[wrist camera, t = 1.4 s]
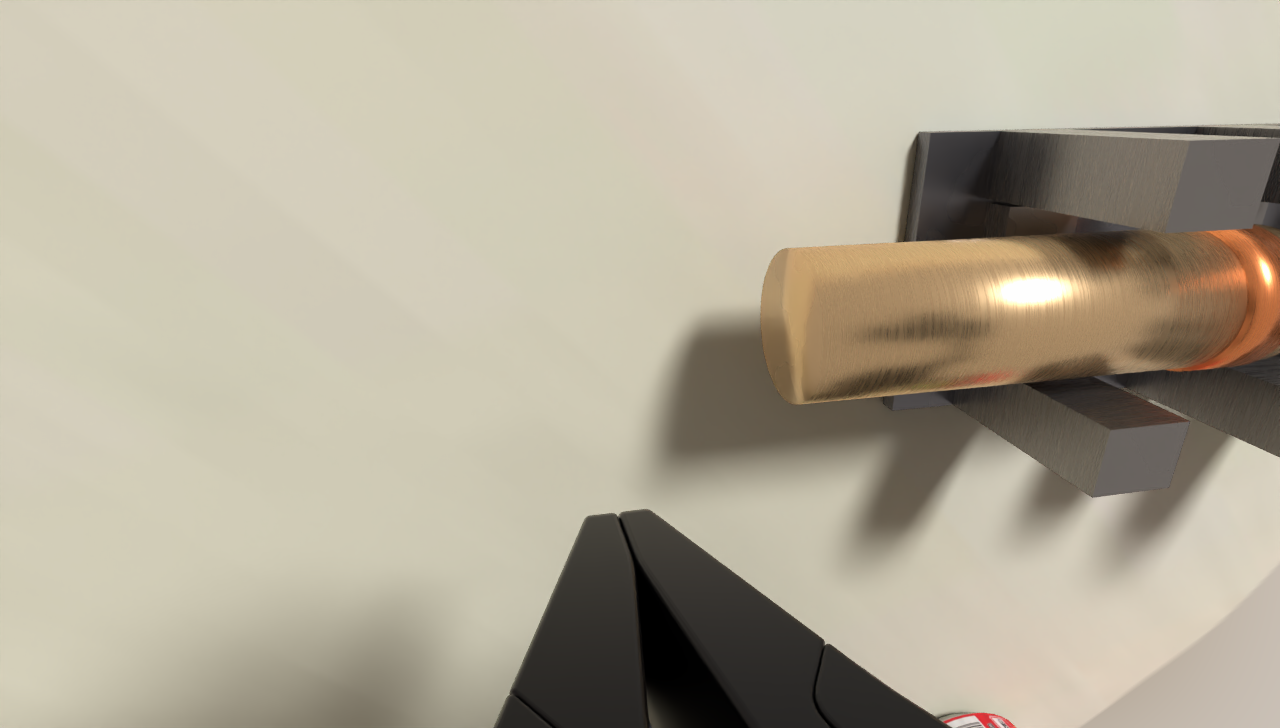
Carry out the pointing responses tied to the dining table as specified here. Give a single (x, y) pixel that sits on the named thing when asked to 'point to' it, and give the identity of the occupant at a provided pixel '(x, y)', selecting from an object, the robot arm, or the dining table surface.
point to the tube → (1016, 310)
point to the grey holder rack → (1097, 202)
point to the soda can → (976, 721)
